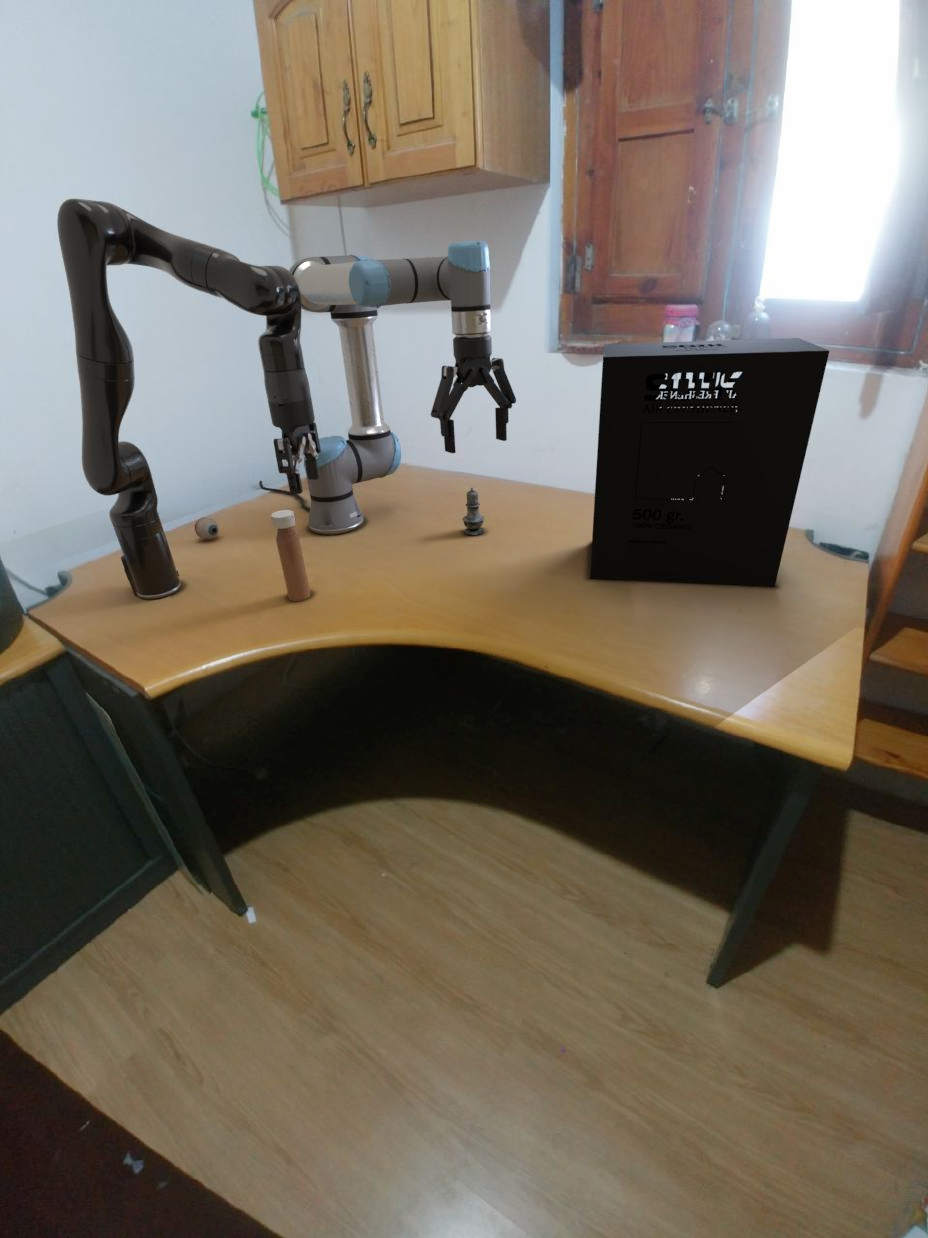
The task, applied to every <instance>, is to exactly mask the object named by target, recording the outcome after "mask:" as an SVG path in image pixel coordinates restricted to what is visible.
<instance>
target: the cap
mask: <svg viewBox="0 0 928 1238" xmlns="http://www.w3.org/2000/svg"><path fill="white" fill-rule="evenodd" d="M270 516H271V517H270V518H271V522H272V526H273V528H275V529H277V528H278V529H283V528H289V527H292V526H293V527H294V526H295V525H296V518H295V514H294V511H293V510H290V509H283V510H278V511H275V512H272V513H271V514H270Z"/></svg>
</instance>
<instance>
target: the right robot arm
mask: <svg viewBox="0 0 928 1238" xmlns="http://www.w3.org/2000/svg"><path fill="white" fill-rule="evenodd" d="M490 263H491V262H490V252H489V245H488V244H487V242H485V241H484V240H466V241H455V242H451V243H450V244H449V245H448V247H447V256H431V257H430V256H427V257H413V258H411V257H410V258H391V259H390V258H386V259H374V258H370V257H369V256H367V255H358V254H349V255H328V256H326V255H325V256H310V257H305V258H302V259H300V260H298V261H296V262H295V263H293V265H291V267H290V268H289V269H288V271H289V272H291V274H292V275H293V276H294V278H295V280H296V282H297V284H298V287H299V290H300V295H301V305H302V310H304V311H306V312H310V313H318V314H319V313H320V314H321V313H330V320H331V321H332V322H333V323H334V324H335V325H336V326H337V327H338V332H339V333H338V334H339V339H340V347H341V355H342V361H343V369H344V375H345V382H346V383H345V384H346V389H347V396H348V404H349V410H350V418H351V425H350V426H349V428H348V430H347V436H348V439H345V437H343V436H341V435H332V436H324V437H321V438H319V443H320V448H321V453H318V459H316V460H317V464H318V470H319V476H320V477H319V478H318V479H317V480H310V479H308V476H307V471H306V465H305V460H307V459H304V457H303V467H304V471H305V476H306V481H307V486H308V492H309V498H310V507H309V506H307V505H306V504H305V499H304V498H303V497H302V496H301V495H300V494H292V493H290V490H285V489H280V488H279V489H278V488H272V487H266V486H264V485H263V481H262V480H259V482H258V483H259V484H258V485H259V487H260V488H261V489H262V490H264V491H268V492H275V493H281V494H286V495H287V494H288V495H291V496H294V497H296V498H298V499H299V500H300V501H301V506H302V508H303V509H305V510H306V511H308V512H309V513H308V528H309V529H308V530H310V531H311V532H312V533H314V534H317V535H323V536H324V535H325V536H327V535H329V536H331V535H339V534H340V535H341V534H345V533H350V532H353V531H355V530H357V529H359V528H361V527H362V526H363V525H364V523H365V519H364V514H363V512H362V510H361V508H360V505H359V504H358V501H357V500H356V498H355V495H354V489H353V485H354V484H355V485H356V484H359V483H363V482H368V481H371V480H375V479H381V478H385V477H387V476H390V475H392V474H394V473H396V472H397V470H398V469H399V467H400V465H401V462H402V446H401V443H400V441H399V437H398V436H397V435H396V434H395V432H394V431H391V426H390V425H388V423H386V422H385V420H384V419H385V418H384V410H383V402H382V393H381V385H380V377H379V368H378V367H379V366H378V358H377V349H376V341H375V331H374V324H375V322H376V320H377V319H378V317H379V314H378V309H379V308H381V307H385V306H394V305H403V304H405V305H406V304H417V303H419V304H420V303H427V302H428V303H429V302H444V301H448V302H449V301H450V311H451V313H450V314H451V315H450V316H451V334H453V335H454V337H453V339H452V350H453V358H454V359H455V363H454V366H452V365H442V366H441V373H440V374H441V375H440V376H441V377H440V381H439V384H438V388H437V390H436V395H435V398H434V401H433V404H432V407H431V411H430V416H431V418H435V419H438V421H439V426H440V435H441V437H443V441H444V442H443V443H444V452H446V453H450V454H456V433H455V420H454V419H451V418H452V416H453V414H454V413H455V410H456V409H457V406H458V404H459V402H460V401H461V399H462V397H463V396H464V393H465V392H466V391H468V389H469V388H474V387H477V386H478V387H482V386H483V387H484V389H485V390H486V391H487V392H488V394H489V396H491V398H492V399H493V401H494V402H495V403H496V405H497V406H498V407H495V408H494V410H495V411H494V413H495V414H494V415H495V439H496V440H499V441H502V442H507V441H508V438H507V435H508V433H507V424H509V410H510V409H512V407H513V404H516V403H517V398H516V394H515V393H514V390H513V388H512V385H511V383H510V380H509V378H508V375H507V373H506V370H505V363H504V362H505V361H504V359H503V358H499V357H493V358H491V356H492V354H493V346H492V344H493V343H492V340H493V339H492V336H491V335H489V333H491V332H492V315H491V314H492V312H491V311H492V309H491V264H490ZM491 370H492V374H493V376H494V378H493V376H492V375H491ZM455 377H456V378H455ZM454 378H455V380H454ZM495 381H496V383H497V384H496V383H495ZM314 444H315V442H314Z"/></svg>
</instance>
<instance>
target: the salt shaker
mask: <svg viewBox="0 0 928 1238" xmlns="http://www.w3.org/2000/svg"><path fill="white" fill-rule="evenodd" d="M465 507H466V511H467V512H466V515H465V516H463V517H462V518H461V520H462V522H463V524H464V527H465V529H464V530H463V533H464V534H465V535H468V536H477V535H481V534H483V533H484V531H485V530H484V528H482V526H483V524H484V520H485V516H484V515H481V513H480V503H479V494H478V492H477V490H474V488H473V487H470V490H469V491H467V492H466V503H465Z"/></svg>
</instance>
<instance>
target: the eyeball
mask: <svg viewBox="0 0 928 1238" xmlns="http://www.w3.org/2000/svg"><path fill="white" fill-rule="evenodd" d="M219 529H220V527H219V524H218V523H217V521H216V520H214V519H213V518H211V517H207V516H204V517H200V518H199V519H198V520H196V521H195V525H194V532H195V534H196V535H197V536H198V538H200V539H202V540H204V541H205V540H206V541H207V540H208V541H209V540H212V539H214V538H216V537H217V535H218V533H219Z"/></svg>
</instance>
